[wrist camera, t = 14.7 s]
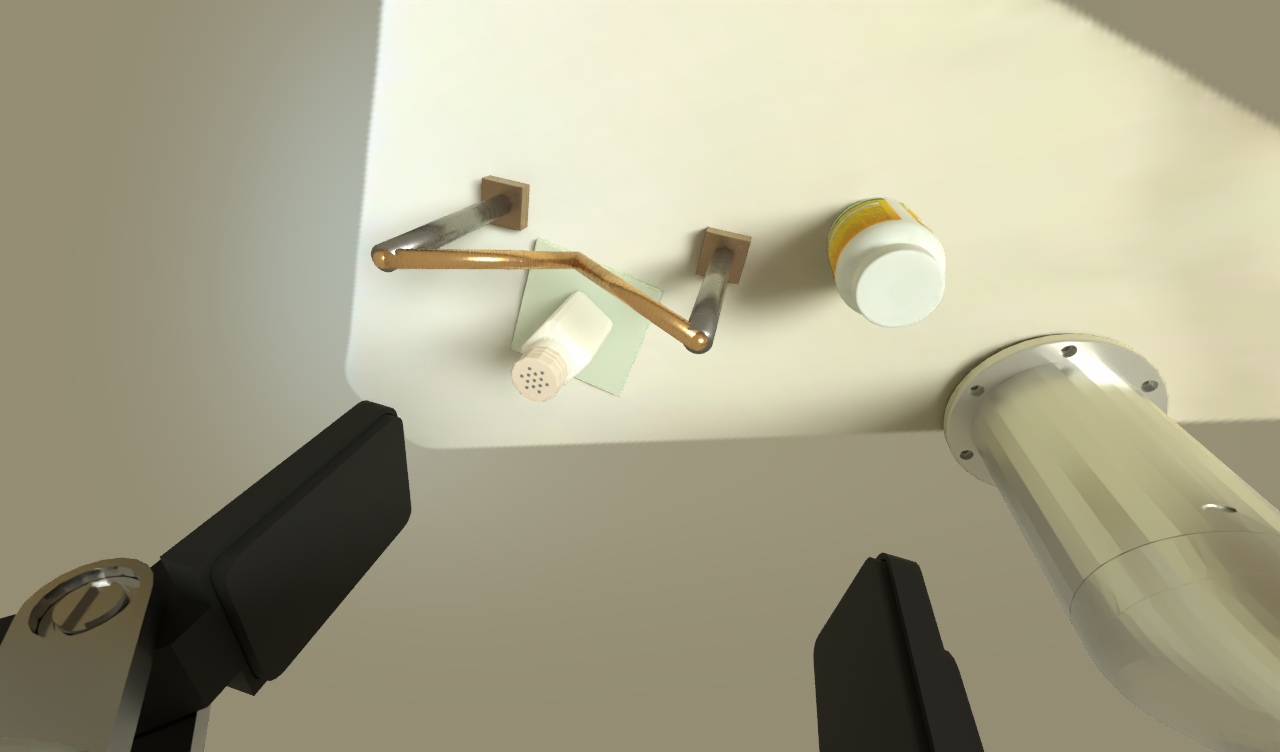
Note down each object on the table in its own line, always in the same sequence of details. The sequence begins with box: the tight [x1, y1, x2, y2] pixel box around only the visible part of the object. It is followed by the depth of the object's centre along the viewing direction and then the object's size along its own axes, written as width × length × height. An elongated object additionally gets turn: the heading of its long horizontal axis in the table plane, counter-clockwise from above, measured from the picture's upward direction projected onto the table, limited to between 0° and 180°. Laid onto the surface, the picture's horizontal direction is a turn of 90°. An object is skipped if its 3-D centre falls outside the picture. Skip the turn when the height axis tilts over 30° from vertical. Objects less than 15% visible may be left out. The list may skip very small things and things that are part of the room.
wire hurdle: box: [371, 176, 751, 354], centre depth 30 cm, size 19×3×14 cm, turn 80°
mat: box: [511, 238, 663, 397], centre depth 40 cm, size 10×10×1 cm
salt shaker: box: [511, 291, 613, 401], centre depth 36 cm, size 4×4×10 cm
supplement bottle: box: [827, 197, 946, 328], centre depth 29 cm, size 5×5×10 cm
